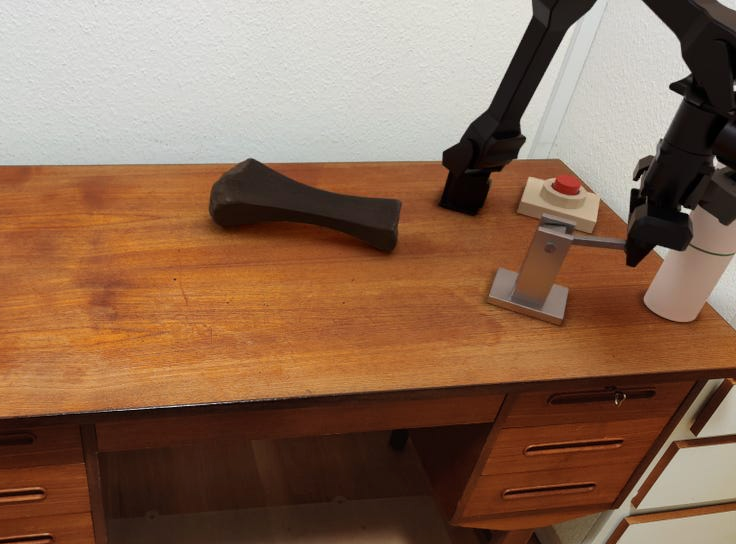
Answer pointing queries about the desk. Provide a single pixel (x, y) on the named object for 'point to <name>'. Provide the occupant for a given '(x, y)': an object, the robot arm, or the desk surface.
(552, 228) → the lever
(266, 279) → the desk surface
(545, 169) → the desk surface
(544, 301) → the bracket
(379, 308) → the desk surface
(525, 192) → the button box
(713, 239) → the cylindrical container
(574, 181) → the button
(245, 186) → the dark brown bone
